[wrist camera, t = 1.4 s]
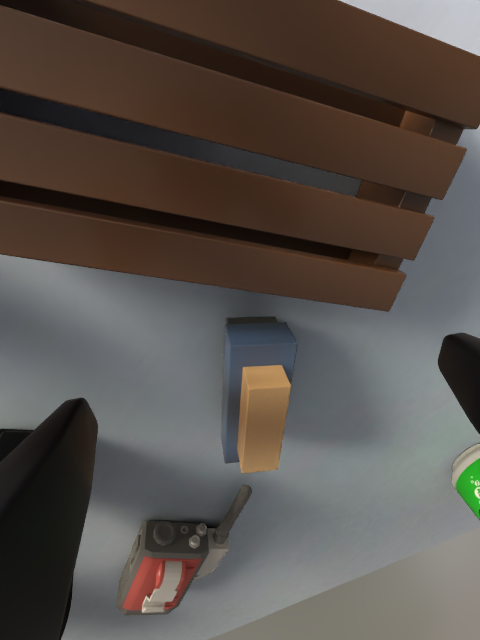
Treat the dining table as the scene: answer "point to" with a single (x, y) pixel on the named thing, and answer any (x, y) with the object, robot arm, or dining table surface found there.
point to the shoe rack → (232, 141)
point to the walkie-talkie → (173, 561)
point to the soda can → (468, 477)
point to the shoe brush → (256, 391)
